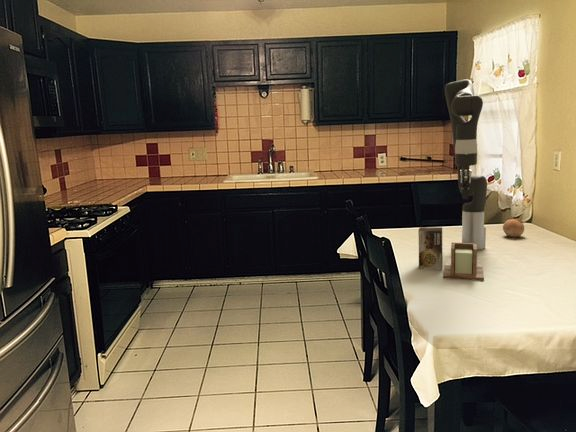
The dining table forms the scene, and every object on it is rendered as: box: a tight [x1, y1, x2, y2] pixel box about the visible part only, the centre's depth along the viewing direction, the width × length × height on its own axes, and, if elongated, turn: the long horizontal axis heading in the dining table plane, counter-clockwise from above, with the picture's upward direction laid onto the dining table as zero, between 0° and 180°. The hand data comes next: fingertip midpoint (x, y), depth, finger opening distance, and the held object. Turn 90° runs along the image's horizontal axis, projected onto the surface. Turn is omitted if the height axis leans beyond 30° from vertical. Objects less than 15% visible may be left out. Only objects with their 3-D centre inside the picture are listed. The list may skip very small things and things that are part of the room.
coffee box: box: [417, 226, 444, 271], centre depth 190 cm, size 9×6×16 cm
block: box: [455, 249, 472, 274], centre depth 181 cm, size 6×6×8 cm
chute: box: [443, 242, 485, 281], centre depth 181 cm, size 14×14×11 cm
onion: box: [502, 218, 525, 238], centre depth 233 cm, size 10×9×10 cm
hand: (465, 198), depth 177 cm, fingers closed
